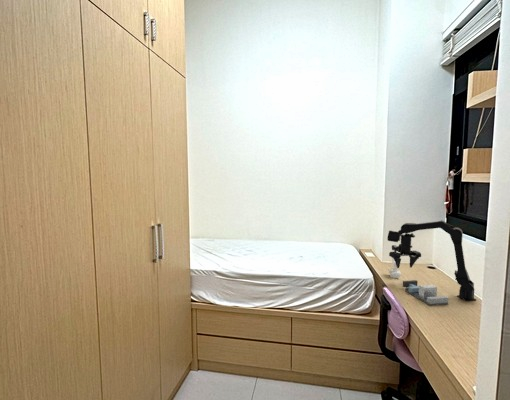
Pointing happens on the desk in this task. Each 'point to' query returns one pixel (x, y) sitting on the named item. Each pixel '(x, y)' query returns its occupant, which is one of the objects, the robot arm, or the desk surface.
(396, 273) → the figurine
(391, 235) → the robot arm
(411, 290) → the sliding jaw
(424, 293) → the steel block
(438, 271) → the desk surface
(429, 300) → the vise base
